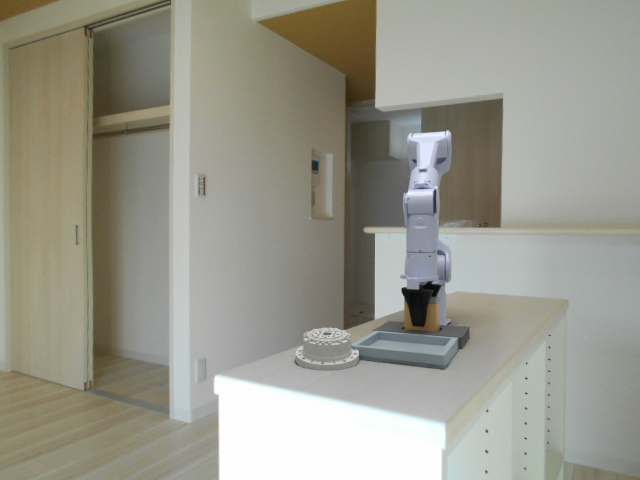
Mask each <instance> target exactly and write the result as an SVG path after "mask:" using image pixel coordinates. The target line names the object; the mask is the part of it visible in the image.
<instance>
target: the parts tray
mask: <svg viewBox="0 0 640 480" xmlns="http://www.w3.org/2000/svg"><path fill="white" fill-rule="evenodd" d="M351 348H352V349H355V350H358V351H359V360H361V361H362V360H363V361H370V362H379V363H387V364H397V365H405V366H413V367H421V368H432V369H440V370H445V369H446V368H447V366H448V365H449V363H450V362H451V361H452V360H453V358H454V356H455V355H456V354H457V352H458V351H459V349H458V338H456V337H444V336H432V335H421V334H409V333H397V332H386V331H374V332H373V331H372V332H370V333H369V334H366V335H365V336H363V337H362V338H360V339H358V340H357V341H355V342H353V343H351Z"/></svg>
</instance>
